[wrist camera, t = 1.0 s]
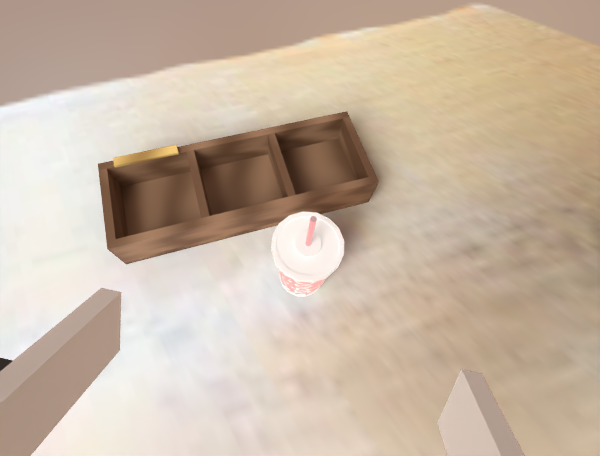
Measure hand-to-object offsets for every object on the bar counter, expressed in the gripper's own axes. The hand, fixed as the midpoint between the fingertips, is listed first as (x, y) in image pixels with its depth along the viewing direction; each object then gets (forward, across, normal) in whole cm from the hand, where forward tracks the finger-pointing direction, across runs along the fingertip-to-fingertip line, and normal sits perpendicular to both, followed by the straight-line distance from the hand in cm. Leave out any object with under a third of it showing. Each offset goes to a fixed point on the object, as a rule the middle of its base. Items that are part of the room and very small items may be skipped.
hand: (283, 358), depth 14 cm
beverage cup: (+23, 0, -9) cm, 25 cm away
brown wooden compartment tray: (+28, -8, -3) cm, 30 cm away
